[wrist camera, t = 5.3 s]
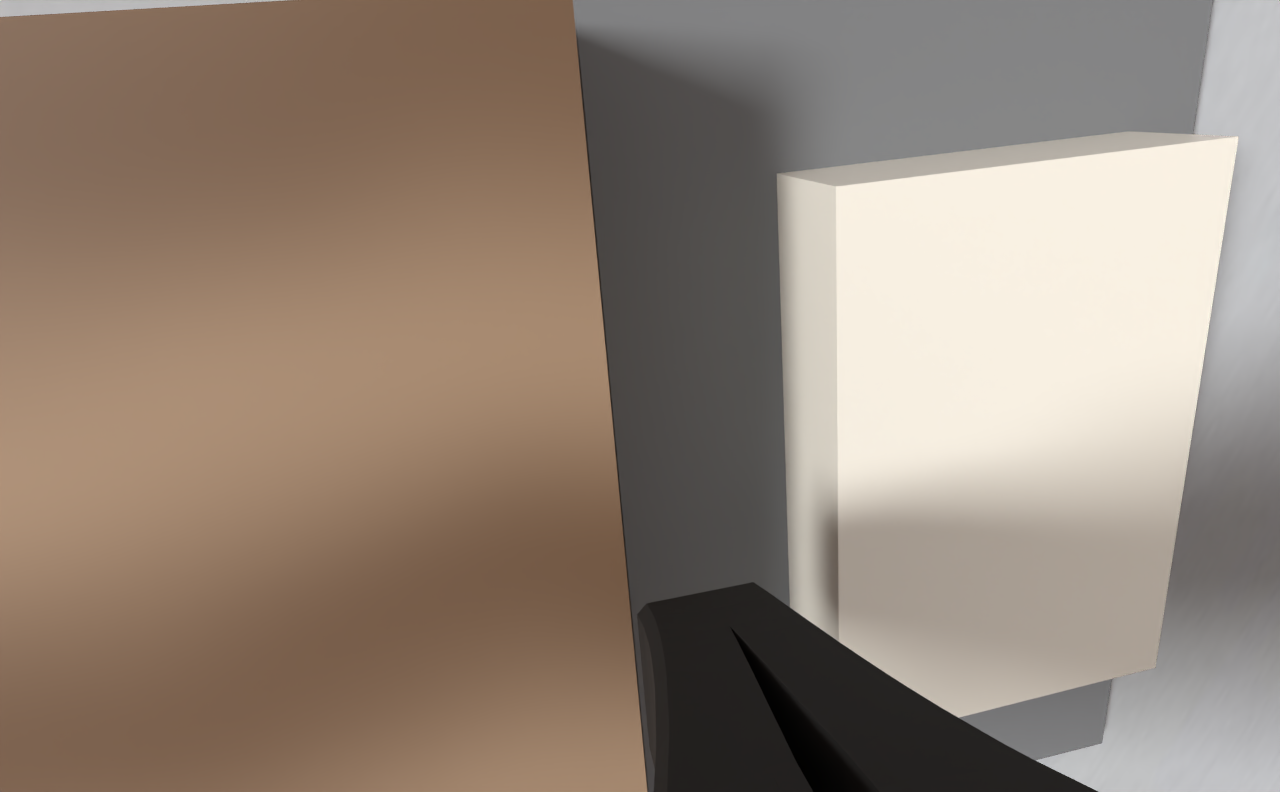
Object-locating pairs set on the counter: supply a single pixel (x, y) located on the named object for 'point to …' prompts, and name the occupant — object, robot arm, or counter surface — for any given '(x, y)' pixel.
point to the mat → (749, 242)
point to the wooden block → (306, 406)
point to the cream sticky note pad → (996, 403)
